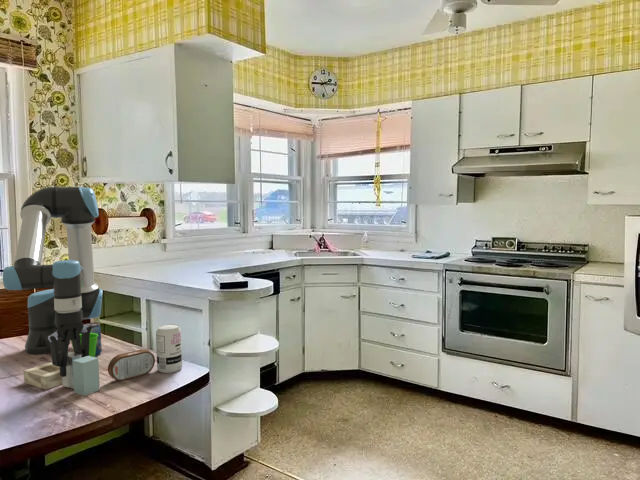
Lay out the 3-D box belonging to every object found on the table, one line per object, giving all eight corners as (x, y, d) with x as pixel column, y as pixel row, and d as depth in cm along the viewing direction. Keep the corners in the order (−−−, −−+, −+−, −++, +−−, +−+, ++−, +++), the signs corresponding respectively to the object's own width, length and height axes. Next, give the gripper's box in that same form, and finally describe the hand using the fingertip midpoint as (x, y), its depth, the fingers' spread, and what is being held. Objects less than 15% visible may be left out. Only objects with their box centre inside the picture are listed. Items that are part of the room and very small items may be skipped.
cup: (88, 372, 158) (86, 340, 157) (65, 370, 160) (63, 339, 159) (105, 363, 166) (104, 333, 166) (83, 362, 168) (82, 332, 167)
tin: (152, 370, 160) (151, 346, 159) (156, 372, 157) (155, 348, 157) (107, 382, 149) (106, 356, 148) (111, 384, 147) (110, 358, 146)
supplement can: (160, 365, 163) (159, 324, 162) (184, 365, 164) (183, 323, 163) (154, 374, 155) (152, 330, 154) (179, 373, 156) (177, 329, 155)
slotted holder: (55, 372, 158) (54, 361, 157) (76, 379, 152) (75, 367, 151) (24, 382, 149) (23, 370, 149) (45, 389, 143) (45, 377, 143)
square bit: (89, 386, 145) (88, 355, 144) (99, 389, 142) (98, 358, 142) (74, 392, 141) (72, 360, 140) (84, 395, 138) (82, 363, 137)
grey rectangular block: (71, 382, 148) (69, 351, 147) (82, 385, 145) (81, 354, 144) (62, 385, 146) (60, 354, 145) (73, 389, 143) (72, 357, 142)
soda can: (103, 356, 175) (101, 324, 174) (82, 359, 171) (81, 327, 170) (100, 351, 181) (98, 321, 180) (80, 354, 177) (78, 323, 176)
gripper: (49, 317, 135) (53, 395, 137) (99, 306, 149) (103, 377, 150) (35, 314, 138) (39, 390, 140) (85, 304, 152) (88, 373, 154)
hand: (72, 383), depth 145 cm, fingers closed on grey rectangular block, 3 cm apart
